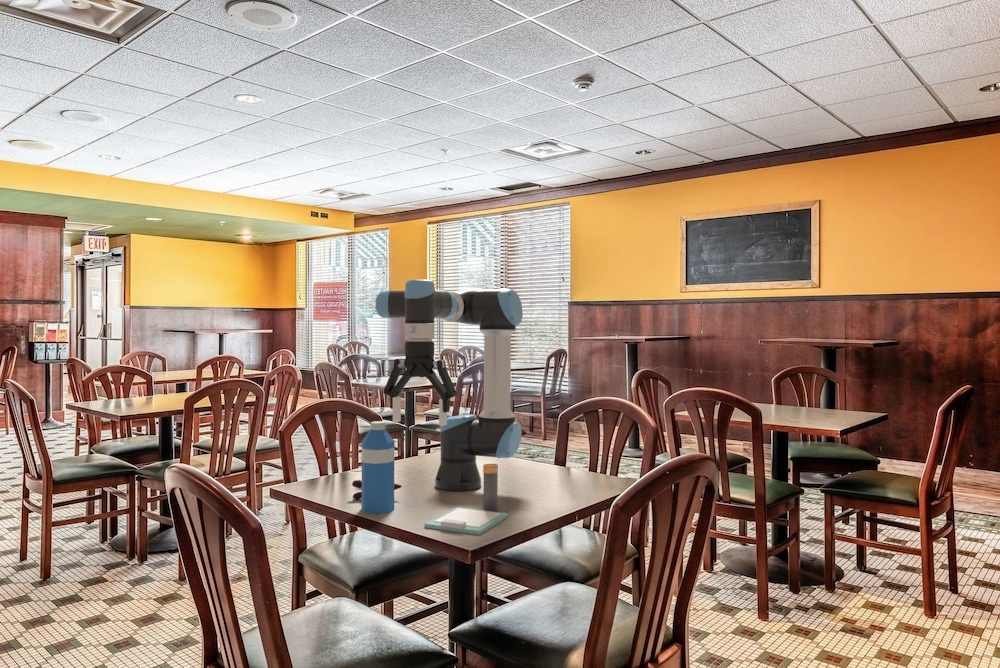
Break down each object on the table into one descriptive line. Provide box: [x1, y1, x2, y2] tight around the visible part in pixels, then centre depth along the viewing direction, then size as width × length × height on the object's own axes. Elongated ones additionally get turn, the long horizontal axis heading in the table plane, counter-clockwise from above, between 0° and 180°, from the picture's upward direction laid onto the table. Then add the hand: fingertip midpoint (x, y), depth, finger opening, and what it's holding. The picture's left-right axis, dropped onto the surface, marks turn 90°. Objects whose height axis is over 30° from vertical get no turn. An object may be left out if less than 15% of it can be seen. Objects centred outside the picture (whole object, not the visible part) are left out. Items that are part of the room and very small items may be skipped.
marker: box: [482, 463, 499, 512], centre depth 194 cm, size 4×4×13 cm
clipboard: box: [423, 506, 509, 536], centre depth 182 cm, size 18×16×2 cm
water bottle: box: [361, 420, 395, 515], centre depth 195 cm, size 9×9×25 cm
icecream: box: [351, 479, 402, 500], centre depth 207 cm, size 7×7×15 cm
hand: (419, 423), depth 173 cm, fingers open, 13 cm apart
